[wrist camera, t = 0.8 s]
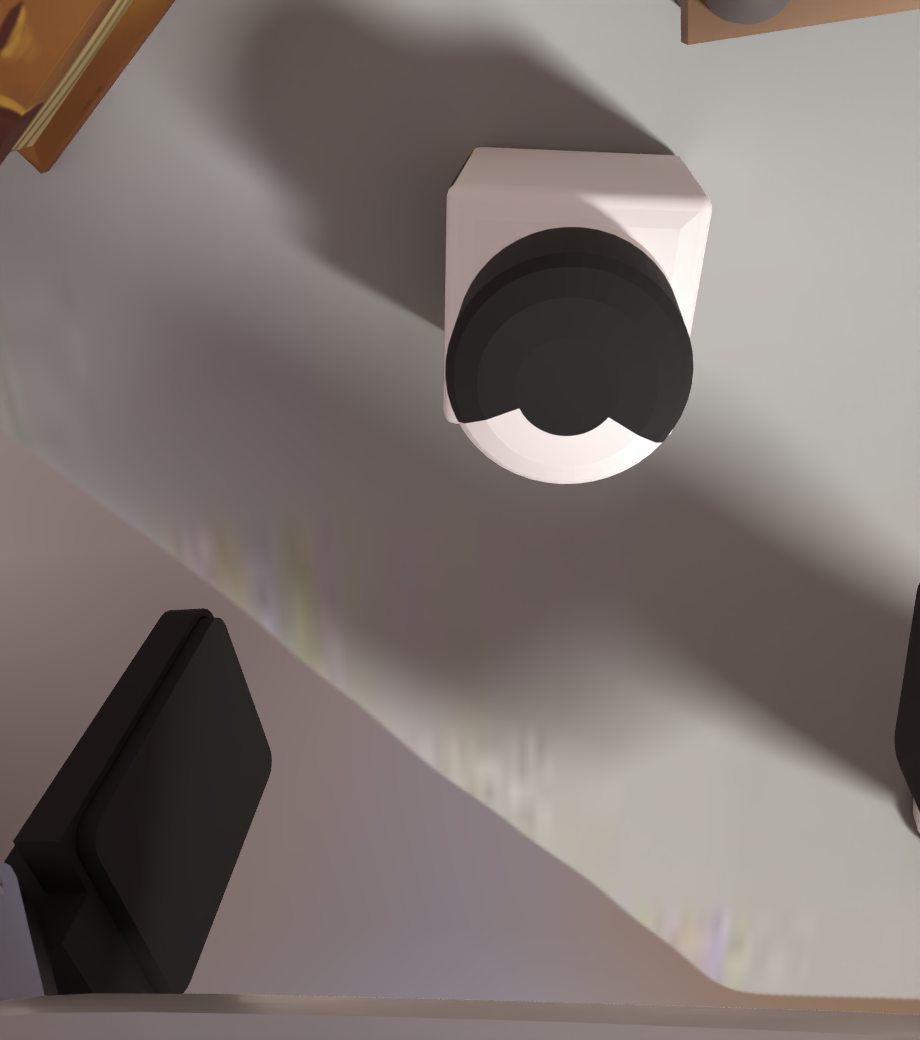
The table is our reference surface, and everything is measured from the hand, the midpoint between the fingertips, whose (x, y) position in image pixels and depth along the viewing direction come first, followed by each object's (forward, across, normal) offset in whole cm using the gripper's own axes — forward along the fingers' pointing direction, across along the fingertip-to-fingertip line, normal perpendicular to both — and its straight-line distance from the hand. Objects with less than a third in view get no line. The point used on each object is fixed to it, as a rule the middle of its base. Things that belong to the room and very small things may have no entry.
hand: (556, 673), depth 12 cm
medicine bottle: (+22, 0, 0) cm, 22 cm away
